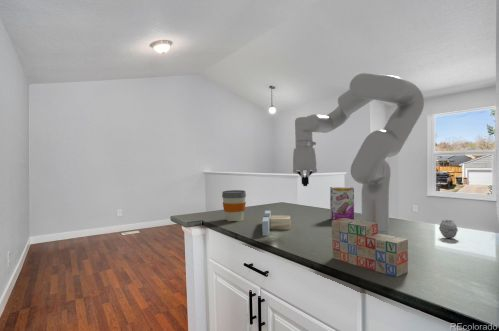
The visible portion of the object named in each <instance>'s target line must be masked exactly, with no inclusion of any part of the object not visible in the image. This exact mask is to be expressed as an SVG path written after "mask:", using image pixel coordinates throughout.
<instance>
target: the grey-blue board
mask: <svg viewBox="0 0 499 331" xmlns="http://www.w3.org/2000/svg"><path fill="white" fill-rule="evenodd" d="M271 214H272V212H271V210H265V211H264V214H263V218H262V221H261V223H262V224H261V228H262V229H261V232H262V236H265V237H266V236H267V237H269V235H270V231H271V229H270V217H271V216H272V215H271Z"/></svg>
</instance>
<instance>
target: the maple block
mask: <svg viewBox="0 0 499 331" xmlns="http://www.w3.org/2000/svg"><path fill="white" fill-rule="evenodd" d="M291 221H292V220H291V215H271V217H270V230H291V227H292V226H291Z"/></svg>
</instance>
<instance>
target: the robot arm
mask: <svg viewBox="0 0 499 331" xmlns="http://www.w3.org/2000/svg"><path fill="white" fill-rule="evenodd" d="M375 100H376V101H381V102H387V103H389V104H390V103H391V104H395V105H396V109H395V110H394V111H393V113H391V115H390V116H389V118H388V120H387V122H386V124H385V126H383V129H377V130H374V131H372V132H370V133H369V134H368V135H367V136H366V137H365V138H364V140H363V142H362V144H361V146H360V148H359V149H358V151H357V153H356V155H355V157H354V159H353V161H352V163H351V166H350V176H351V178H352V179H353V180H354V182H357V183H358V184H362V187H361V221H366V222H372V223H377V228H378V233H377V234H384V235H389V236H390V208H389V207H390V203H389V201H390V198H389V197H390V196H389V194H390V192H389V191H390V188H389V187H390V180H391V179H390V178H391V166H390V164H389V162H388V161H387V160H386V159H387V158H391V157H394V156H397V155H398V154H399V153H400V152H401V150H402V148H403V146H404V145H405V143H406V141H407V140H408V138H409V136H410V134H411V133H412V131H413V128H414V127H415V126H416V124H417V123H418V120H419V119H420V117H421V115H422V112H423V110H424V106H425V99H424V94H423V93H422V91H421V89H420V88H419V87H418V86H417V85H416V84H415V83H413V82H412V81H409V80H407V79H404V78H401V77H399V76H397V75H386V74H377V73H376V74H375V73H368V72H367V73H366V72H362V73H359V74H356V75H355V76H354V77H353V78H352V79H351V80H350V82H349V88H348V90H347V91H345V92H344V93H342V94H341V95H339V97H338V98H337V104H338V105H337V107H336V108H335V109H334V110H332V111H331V112H329V113H328V114H326V115H324V114H316V113H315V114H310V115H307V116H300V117H296V118H295V119H294V131H295V132H294V135H295V138H294V139H295V140H294V141H295V148H293V153H292V154H293V155H292V168H293V169H292V173H293V174H295V175H296V174H298V175H299V176H300V177H301V185H303V187H308V185H309V184H310V183H309V182H310V181H309V177H311V175H312V174H315V173H317V172H318V169H317V156H316V149H315V147H314V146H316V144H317V142H316V141H313V133H324V134H326V133H330V132H333V131H334V130H336V129H337V128H339V127H341V126H342V125H344V123H346V121H347V120H348V119H349V118H350V116H351V115H353V113H356V112H357V111H358V110H360V109H362V108H363V107H365V106H366V105H367V104H369V103H371V102H373V101H375ZM304 171H305V172H306V174H305V175H304Z"/></svg>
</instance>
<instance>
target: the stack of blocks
mask: <svg viewBox="0 0 499 331" xmlns="http://www.w3.org/2000/svg"><path fill="white" fill-rule="evenodd" d="M377 233H378V228H377V223H372V222H366V221H362V220H359V219H354V220H352V219H346V218H342V219H337V220H331V239H332V259H336V260H339V261H341V262H345V263H348V264H351V265H354V266H359V267H362V268H365V269H368V270H371V271H375V272H378V273H382V274H386V275H388V276H391V277H395V278H398V277H399V276H402V275H405V274H406V273H408V271H409V264H408V261H409V257H408V256H409V253H408V250H409V239H408V238H403V237H398V236H393V235H390V234H389V235H384V234H377Z"/></svg>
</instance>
